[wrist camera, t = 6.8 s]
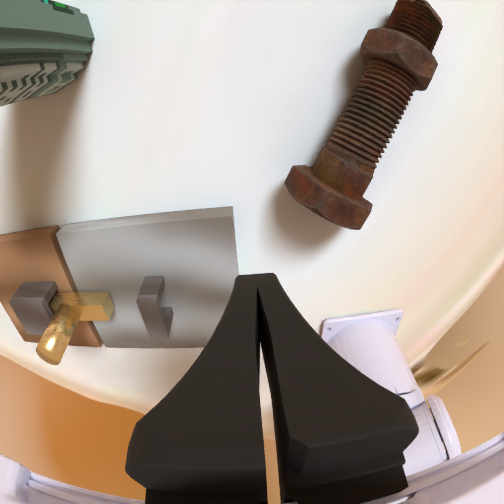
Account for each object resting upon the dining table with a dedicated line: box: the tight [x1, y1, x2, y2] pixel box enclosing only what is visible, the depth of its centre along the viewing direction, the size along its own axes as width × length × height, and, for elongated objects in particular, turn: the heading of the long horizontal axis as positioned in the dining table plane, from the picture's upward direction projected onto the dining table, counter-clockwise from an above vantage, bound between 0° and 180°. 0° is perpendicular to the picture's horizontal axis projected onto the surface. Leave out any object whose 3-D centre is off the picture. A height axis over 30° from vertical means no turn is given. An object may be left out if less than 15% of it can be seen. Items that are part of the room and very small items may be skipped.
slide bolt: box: [36, 291, 114, 365], centre depth 19 cm, size 2×9×6 cm, turn 93°
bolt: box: [285, 0, 443, 230], centre depth 15 cm, size 6×5×15 cm
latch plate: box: [0, 207, 239, 348], centre depth 22 cm, size 12×24×4 cm, turn 93°
